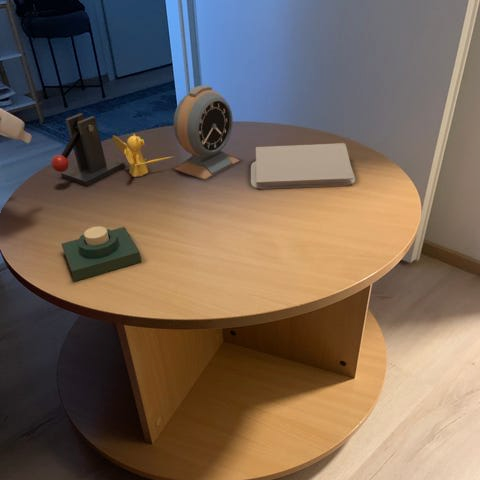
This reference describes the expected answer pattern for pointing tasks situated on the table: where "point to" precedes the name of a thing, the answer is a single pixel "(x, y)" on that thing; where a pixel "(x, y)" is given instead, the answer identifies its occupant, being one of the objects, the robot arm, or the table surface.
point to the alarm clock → (204, 132)
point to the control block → (101, 254)
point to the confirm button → (96, 236)
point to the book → (301, 166)
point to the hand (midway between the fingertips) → (14, 134)
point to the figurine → (135, 154)
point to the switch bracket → (89, 154)
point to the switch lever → (66, 150)
